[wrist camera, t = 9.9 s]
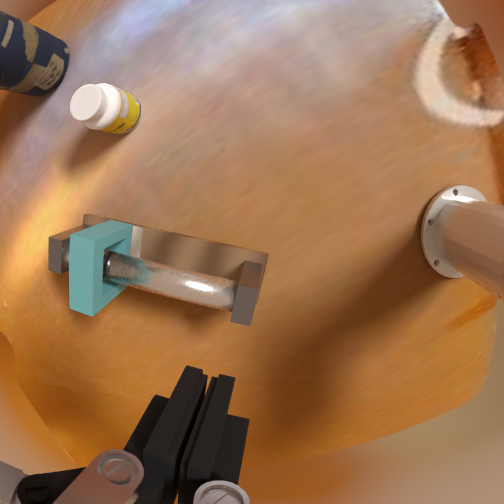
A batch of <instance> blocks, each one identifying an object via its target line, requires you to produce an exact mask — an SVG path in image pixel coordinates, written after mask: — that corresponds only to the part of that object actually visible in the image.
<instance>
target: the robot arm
mask: <svg viewBox="0 0 504 504" xmlns="http://www.w3.org/2000/svg"><path fill="white" fill-rule="evenodd" d="M428 220H429V222H428ZM421 245H422V250H423V253H424V256H425V258H426V260H427V262H428V263H429V265H430V266H431V267H432V268H433V269H434V270H435V271H437V272H438V273H439V274H441V275H443V276H445V277H449V278H460V277H464V276H466V277H467V278H469V279H471V280H472V281H474V282H475V283H477V284H478V285H480V286H481V287H483V288H484V289H486V290H487V291H489V292H490V293H492V294H493V295H495V296H496V297H498V298H499V299H501V300H502V301H504V205H500V204H495V203H491V202H487V200H486V199H485V197H484V196H483V195H482V194H481V193H480V192H479V191H478V190H476V189H474V188H473V187H470V186H466V185H452V186H450V187H447V188H445V189H443V190H442V191H440V192H439V193H438V194H437V195H436V196H435V197H434V198H433V199H432V201H431V202H430V204H429V205H428V207H427V209H426V211H425V214H424V217H423V220H422V226H421ZM434 261H435V262H434ZM202 373H203V370H202V369H198V368H195V367H191V366H186V367H185V369H184V371H183V373H182V375H181V377H180V379H179V381H178V383H177V385H176V387H175V389H174V391H173V393H172V395H171V397H170V399H169V398H166V397H162V396H159V395H155V396H154V397H153V399H152V400H151V402H150V404H149V405H148V407H147V409H146V411H145V412H144V414H143V416H142V418H141V419H140V421H139V423H138V425H137V427H136V428H135V430H134V432H133V434H132V435H131V437H130V439H129V441H128V442H127V444H126V446H125V448H124V449H123V450H117V449H114V450H107V451H104V452H101V453H100V454H99V455H98V456H96V457H95V458H94V459H93V461H92V462H91V463H90V464H89V465H88V466H87V467H84V468H78V469H72V470H65V471H59V472H52V473H43V474H34V475H27V474H25V473H23V471H22V470H20V469H18V468H15V467H13V466H11V465H8V464H6V463H4V462H2V461H0V504H174V502H175V499H176V496H177V493H178V504H250V501H249V497H248V495H247V494H246V492H245V491H244V490H243V489H242V488H240V487H239V486H238V480H239V475H240V469H241V464H242V458H243V453H244V447H245V441H246V436H247V430H248V424H249V419H247V418H242V417H237V416H233V415H229V414H227V413H228V409H229V404H230V400H231V395H232V391H233V386H234V382H235V377H230V376H226V375H222V374H219V377H218V378H217V377H213V376H212V378H211V381H210V384H209V387H208V389H207V392H206V395H205V391H206V384H207V378H208V375H205V374H202ZM204 397H205V398H204ZM178 490H179V491H178Z"/></svg>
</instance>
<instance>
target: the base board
mask: <svg viewBox="0 0 504 504" xmlns="http://www.w3.org/2000/svg"><path fill="white" fill-rule="evenodd" d="M109 220H113V219H109V218H104V217H100V216H95V215H90V214H85V215H84V222H83V225H85V224H88V225H93V226H95V225H98V224H101V223H104V222H106V221H109ZM114 221H118V220H114ZM118 222H122V221H118ZM123 223H127V222H123ZM127 224H131V223H127ZM132 225H133V226H132V235H131V244H130V256H134V257H138V258H142V259H146V260H150V261H154V262H158V263H162V264H166V265H170V266H174V267H178V268H183V269H187V270H191V271H195V272H200V273H204V274H208V275H212V276H217V277H221V278H226V279H230V280H234V281H239V280H240V277H241V274H242V270H243V267H244V264H245V261H251V262H255V263H260V264H262V268H261V277H260V285H259V291H258V295H257V300H256V304H257V301H258V297H259V293H260V289H261V285H262V280H263V276H264V272H265V268H266V263H267V259H268V254H267V253H263V252H258V251H254V250H249V249H245V248H240V247H236V246H231V245H227V244H222V243H218V242H213V241H209V240H204V239H200V238H195V237H191V236H186V235H181V234H177V233H172V232H168V231H163V230H159V229H154V228H150V227H145V226H141V225H136V224H132Z"/></svg>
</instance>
